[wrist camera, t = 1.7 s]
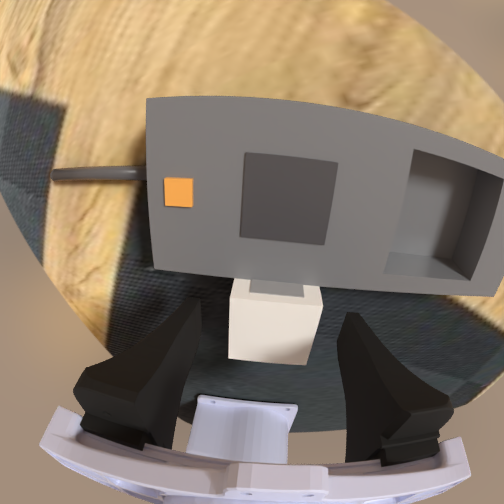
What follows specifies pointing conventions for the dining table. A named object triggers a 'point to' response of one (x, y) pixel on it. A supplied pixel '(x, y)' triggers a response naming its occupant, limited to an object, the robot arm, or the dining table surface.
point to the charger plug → (273, 321)
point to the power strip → (316, 197)
